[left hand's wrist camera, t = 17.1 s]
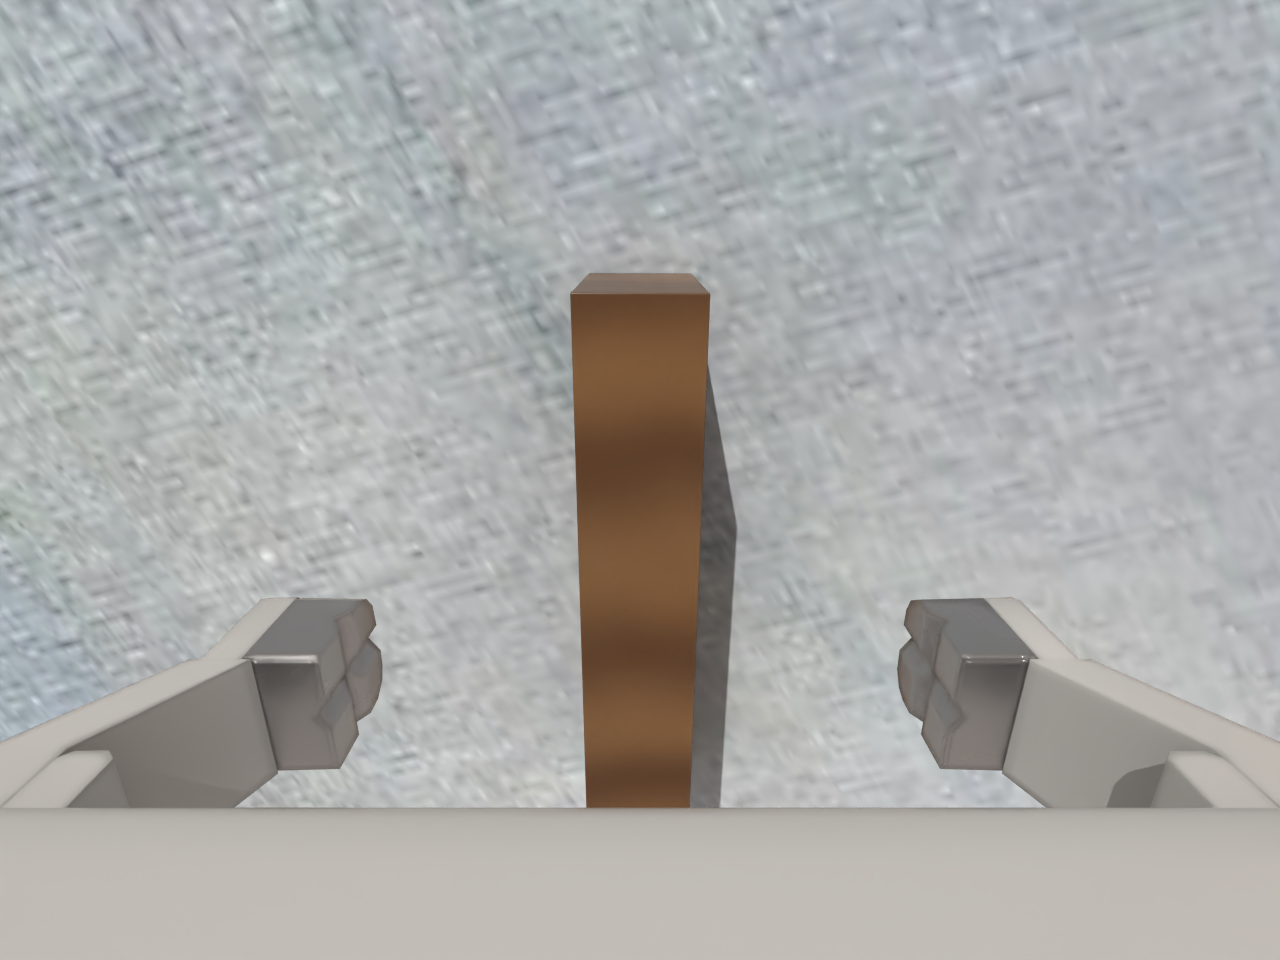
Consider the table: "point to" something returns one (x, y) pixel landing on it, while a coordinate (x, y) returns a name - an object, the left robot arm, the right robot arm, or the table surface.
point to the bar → (639, 528)
